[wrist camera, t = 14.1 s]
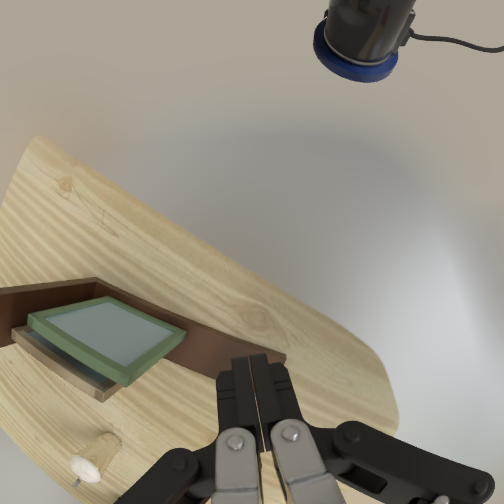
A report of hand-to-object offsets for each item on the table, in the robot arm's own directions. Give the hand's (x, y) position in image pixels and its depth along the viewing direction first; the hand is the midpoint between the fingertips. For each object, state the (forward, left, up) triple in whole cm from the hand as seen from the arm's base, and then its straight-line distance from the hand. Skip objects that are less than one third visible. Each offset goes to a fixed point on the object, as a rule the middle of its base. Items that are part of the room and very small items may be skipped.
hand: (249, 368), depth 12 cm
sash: (+13, -2, -17) cm, 22 cm away
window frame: (+11, +1, -19) cm, 22 cm away
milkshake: (+27, +15, -19) cm, 36 cm away
